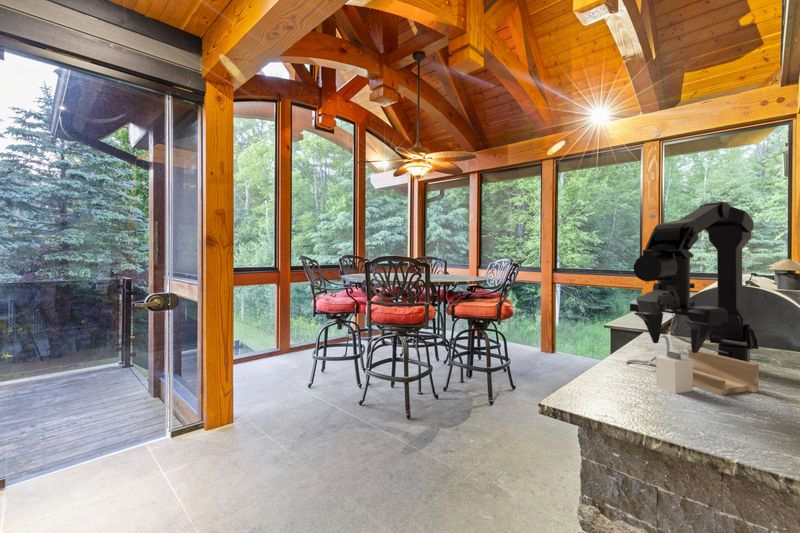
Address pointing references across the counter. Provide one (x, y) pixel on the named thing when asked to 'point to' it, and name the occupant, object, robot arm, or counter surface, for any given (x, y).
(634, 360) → the hook
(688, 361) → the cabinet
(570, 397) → the counter surface
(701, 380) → the board
